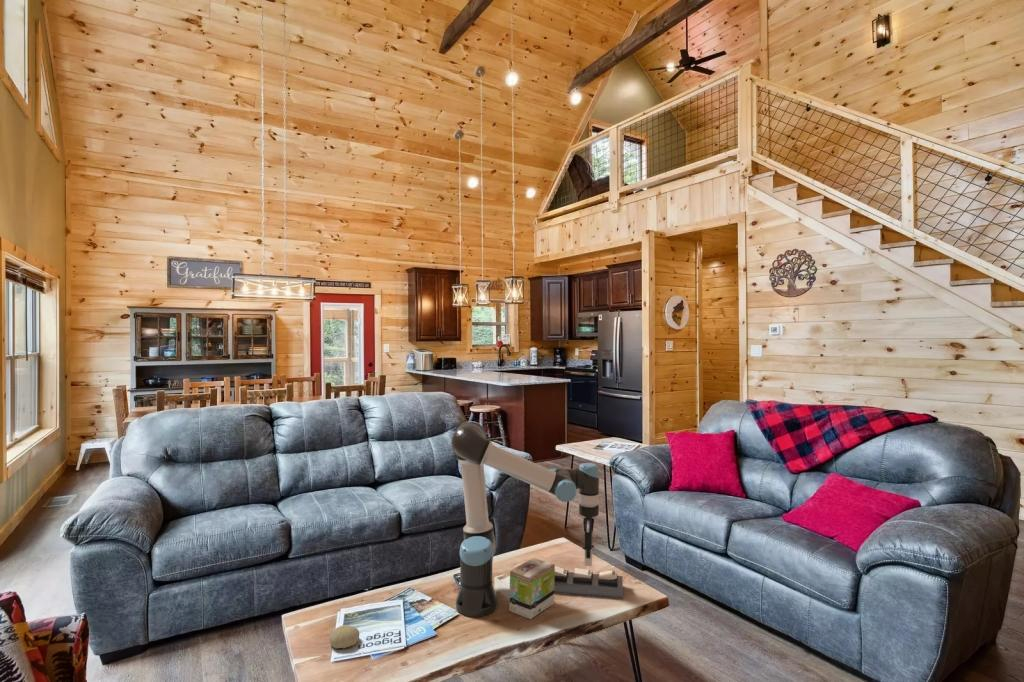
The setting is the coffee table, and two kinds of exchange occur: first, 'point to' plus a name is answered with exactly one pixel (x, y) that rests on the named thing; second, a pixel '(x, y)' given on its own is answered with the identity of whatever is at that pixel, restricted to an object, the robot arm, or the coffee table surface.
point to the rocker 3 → (608, 575)
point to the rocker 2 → (582, 573)
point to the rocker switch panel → (589, 586)
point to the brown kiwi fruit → (344, 636)
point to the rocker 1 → (560, 571)
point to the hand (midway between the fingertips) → (588, 565)
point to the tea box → (532, 587)
